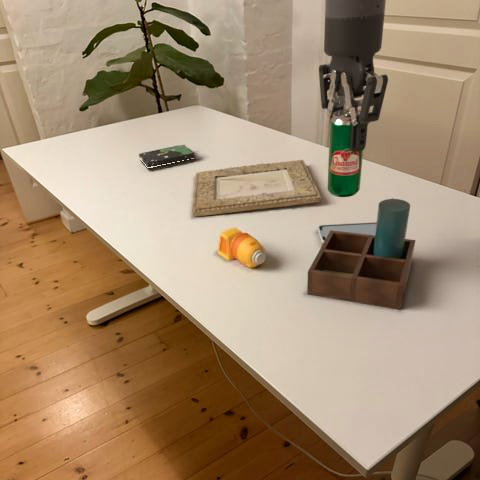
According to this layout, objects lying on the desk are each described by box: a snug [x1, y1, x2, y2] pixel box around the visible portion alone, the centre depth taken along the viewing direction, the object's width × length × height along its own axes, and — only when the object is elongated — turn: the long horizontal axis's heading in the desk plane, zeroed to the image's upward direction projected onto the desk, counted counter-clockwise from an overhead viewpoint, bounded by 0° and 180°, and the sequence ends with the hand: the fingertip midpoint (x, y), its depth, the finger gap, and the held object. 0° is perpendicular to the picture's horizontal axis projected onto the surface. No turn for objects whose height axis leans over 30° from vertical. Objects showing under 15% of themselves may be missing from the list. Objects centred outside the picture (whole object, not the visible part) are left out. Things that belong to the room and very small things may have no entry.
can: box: [373, 198, 411, 259], centre depth 80 cm, size 5×5×12 cm
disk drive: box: [138, 144, 196, 171], centre depth 140 cm, size 10×3×15 cm
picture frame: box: [191, 159, 322, 218], centre depth 117 cm, size 27×30×3 cm
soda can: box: [326, 108, 364, 198], centre depth 71 cm, size 5×5×12 cm
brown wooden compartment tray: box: [306, 230, 416, 310], centre depth 81 cm, size 15×15×5 cm
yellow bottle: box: [217, 227, 266, 268], centre depth 89 cm, size 5×6×12 cm
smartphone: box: [317, 221, 377, 244], centre depth 94 cm, size 7×1×15 cm
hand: (346, 145), depth 70 cm, fingers closed on soda can, 5 cm apart
